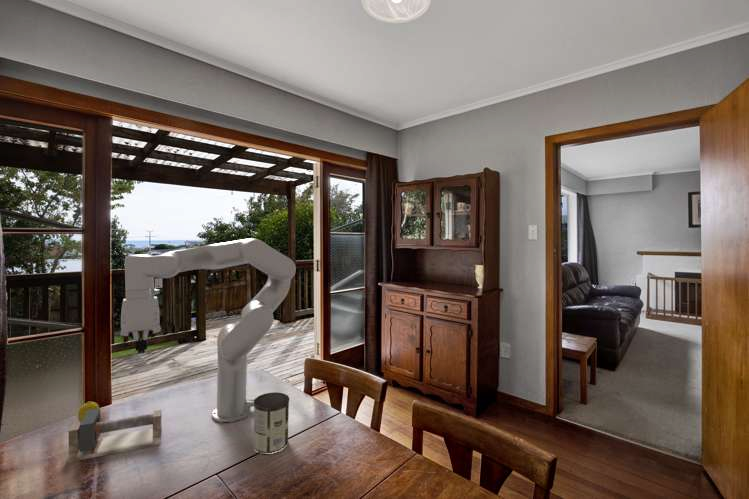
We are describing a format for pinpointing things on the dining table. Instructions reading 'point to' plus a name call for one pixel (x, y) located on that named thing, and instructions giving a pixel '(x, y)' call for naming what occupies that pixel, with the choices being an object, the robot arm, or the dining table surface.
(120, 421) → the pipe stand
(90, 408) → the lemon
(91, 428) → the grey frame
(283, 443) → the coffee can
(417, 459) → the dining table surface
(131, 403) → the dining table surface
